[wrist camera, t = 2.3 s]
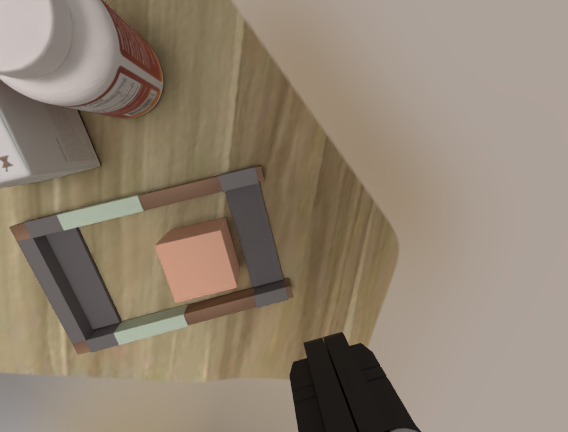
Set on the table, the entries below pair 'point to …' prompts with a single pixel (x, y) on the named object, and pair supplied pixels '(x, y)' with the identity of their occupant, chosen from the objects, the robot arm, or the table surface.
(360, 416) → the robot arm
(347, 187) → the table surface
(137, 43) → the pill bottle
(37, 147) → the product box
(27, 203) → the table surface
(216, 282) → the terracotta block
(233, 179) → the frame
